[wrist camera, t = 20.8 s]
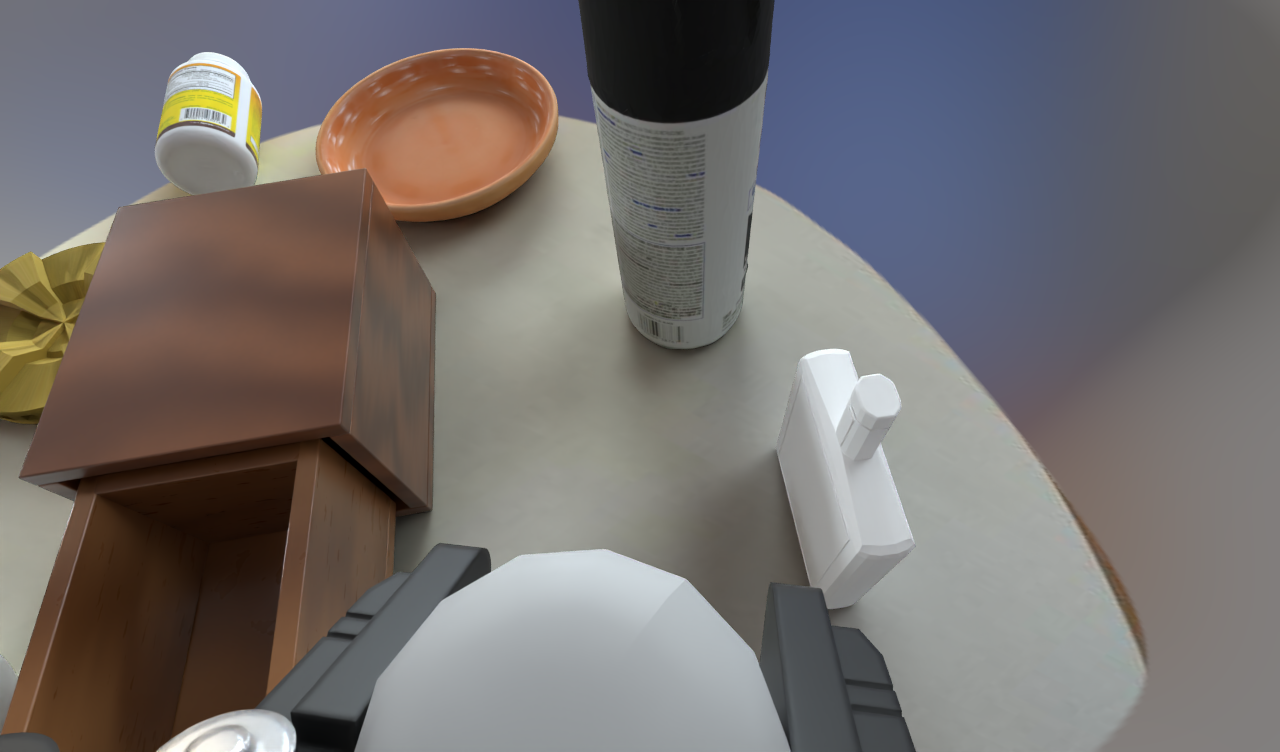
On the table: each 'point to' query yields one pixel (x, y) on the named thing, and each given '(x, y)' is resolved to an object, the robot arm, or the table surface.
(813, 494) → the perfume bottle
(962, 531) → the table surface
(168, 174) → the supplement bottle
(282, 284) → the cabinet
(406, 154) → the saucer
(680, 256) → the spray can
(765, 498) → the table surface
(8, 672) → the cup
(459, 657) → the salt shaker
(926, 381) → the table surface
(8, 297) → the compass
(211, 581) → the drawer
